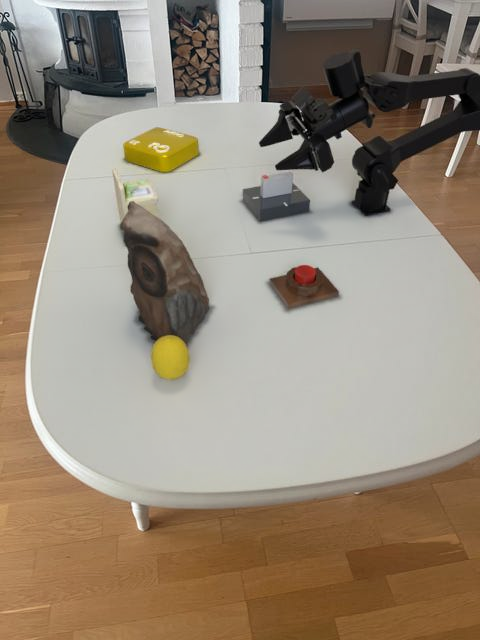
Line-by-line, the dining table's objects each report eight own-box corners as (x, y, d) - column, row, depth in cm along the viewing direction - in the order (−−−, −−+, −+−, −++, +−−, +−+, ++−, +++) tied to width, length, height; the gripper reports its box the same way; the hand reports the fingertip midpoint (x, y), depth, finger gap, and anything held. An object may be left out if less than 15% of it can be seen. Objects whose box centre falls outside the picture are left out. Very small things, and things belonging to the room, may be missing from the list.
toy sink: (163, 239, 107) (157, 180, 98) (128, 245, 105) (118, 186, 97) (154, 219, 113) (147, 162, 104) (120, 225, 111) (110, 167, 103)
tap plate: (288, 191, 123) (289, 178, 121) (310, 213, 115) (311, 200, 113) (241, 199, 120) (241, 187, 118) (260, 223, 112) (261, 210, 110)
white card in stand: (288, 190, 117) (290, 170, 114) (291, 193, 116) (293, 173, 113) (260, 195, 115) (260, 175, 112) (263, 198, 114) (263, 178, 111)
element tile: (201, 153, 139) (201, 135, 136) (166, 174, 130) (165, 155, 127) (158, 141, 145) (156, 124, 142) (121, 160, 136) (119, 142, 133)
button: (308, 271, 95) (309, 263, 93) (318, 282, 92) (319, 274, 91) (291, 275, 94) (291, 267, 92) (299, 286, 91) (300, 278, 90)
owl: (180, 355, 82) (170, 248, 68) (111, 335, 85) (89, 229, 72) (213, 308, 90) (209, 205, 77) (149, 291, 94) (135, 190, 81)
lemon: (154, 364, 80) (149, 325, 75) (190, 362, 81) (187, 323, 75) (153, 391, 76) (147, 352, 71) (191, 389, 76) (187, 350, 71)
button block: (317, 272, 99) (319, 259, 97) (338, 296, 93) (340, 283, 91) (269, 283, 96) (269, 270, 94) (287, 309, 90) (288, 296, 88)
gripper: (308, 60, 101) (238, 100, 103) (351, 102, 89) (271, 146, 91) (322, 109, 110) (257, 145, 111) (362, 152, 98) (289, 193, 99)
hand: (267, 156), depth 103 cm, fingers open, 9 cm apart
